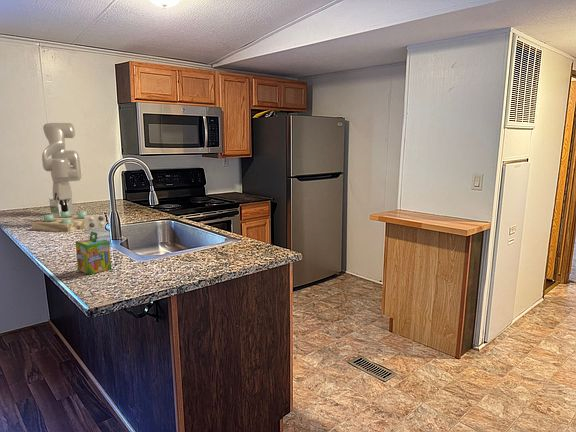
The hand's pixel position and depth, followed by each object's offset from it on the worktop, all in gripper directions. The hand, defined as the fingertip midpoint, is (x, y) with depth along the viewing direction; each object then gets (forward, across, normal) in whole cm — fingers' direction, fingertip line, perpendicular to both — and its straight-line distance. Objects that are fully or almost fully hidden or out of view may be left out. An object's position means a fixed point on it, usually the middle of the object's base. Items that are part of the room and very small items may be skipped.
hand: (64, 211), depth 241 cm
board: (+8, +6, +6) cm, 11 cm away
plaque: (+8, +5, +26) cm, 27 cm away
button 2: (+4, 0, 0) cm, 4 cm away
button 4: (+4, 0, +12) cm, 13 cm away
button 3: (+6, +12, +12) cm, 18 cm away
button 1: (+4, +12, 0) cm, 13 cm away
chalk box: (+9, +70, +79) cm, 106 cm away
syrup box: (+8, -8, -13) cm, 17 cm away
